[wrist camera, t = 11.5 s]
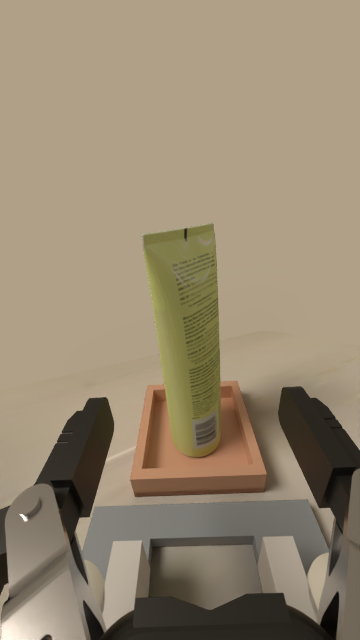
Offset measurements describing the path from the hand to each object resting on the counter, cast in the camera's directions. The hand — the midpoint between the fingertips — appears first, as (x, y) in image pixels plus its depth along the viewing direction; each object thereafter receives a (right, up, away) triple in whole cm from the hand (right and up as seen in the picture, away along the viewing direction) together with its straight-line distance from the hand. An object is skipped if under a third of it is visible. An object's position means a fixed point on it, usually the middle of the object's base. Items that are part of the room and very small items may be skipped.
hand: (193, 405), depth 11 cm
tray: (+1, -8, +13) cm, 15 cm away
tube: (+1, -8, +13) cm, 15 cm away
